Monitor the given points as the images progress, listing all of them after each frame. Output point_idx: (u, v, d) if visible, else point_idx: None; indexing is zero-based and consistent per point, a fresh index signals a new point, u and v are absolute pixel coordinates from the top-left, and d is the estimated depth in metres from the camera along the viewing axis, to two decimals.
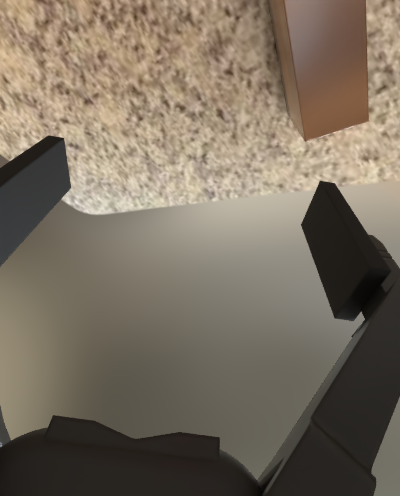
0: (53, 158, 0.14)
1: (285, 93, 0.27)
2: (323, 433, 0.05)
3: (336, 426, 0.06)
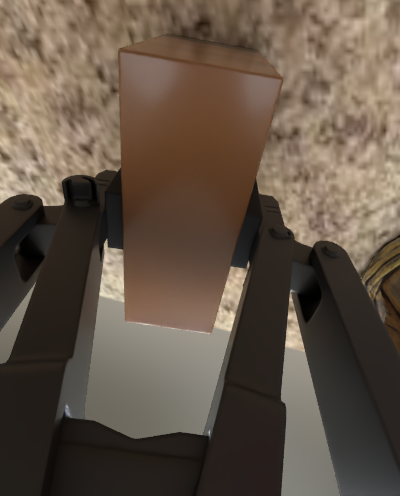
0: None
1: None
2: (237, 388, 0.06)
3: (246, 375, 0.06)
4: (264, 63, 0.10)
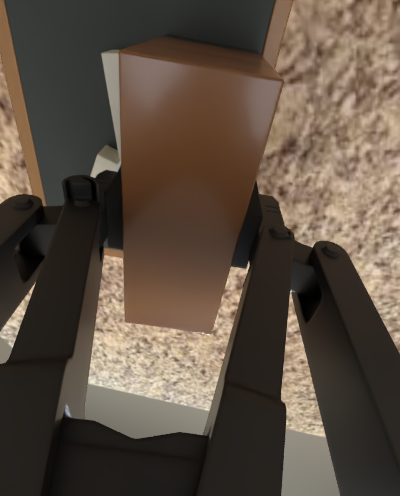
0: None
1: None
2: (237, 388, 0.06)
3: (246, 375, 0.06)
4: (264, 64, 0.10)
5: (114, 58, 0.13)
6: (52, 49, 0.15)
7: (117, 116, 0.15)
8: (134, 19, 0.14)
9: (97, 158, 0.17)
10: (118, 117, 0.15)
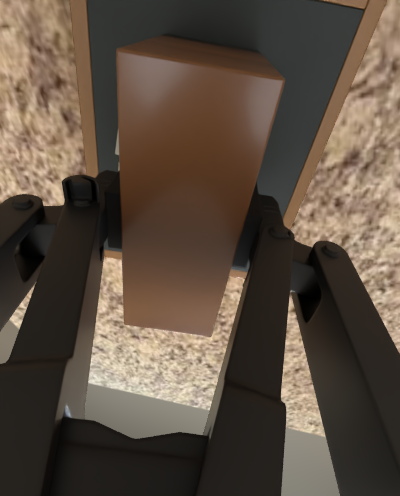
0: None
1: None
2: (237, 388, 0.06)
3: (246, 375, 0.06)
4: (265, 63, 0.10)
5: None
6: None
7: None
8: (216, 36, 0.14)
9: None
10: None
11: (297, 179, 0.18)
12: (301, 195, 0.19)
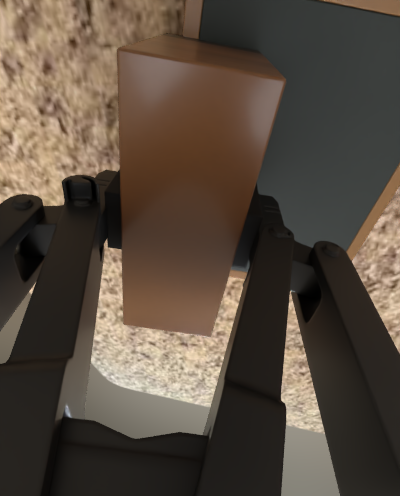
0: None
1: None
2: (237, 388, 0.06)
3: (246, 375, 0.06)
4: (266, 64, 0.10)
5: None
6: None
7: None
8: (324, 57, 0.14)
9: None
10: None
11: (380, 194, 0.18)
12: (381, 209, 0.19)
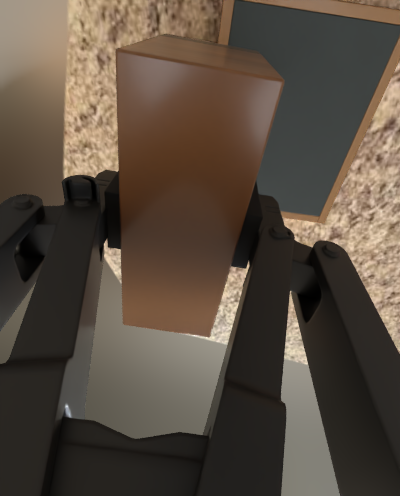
0: None
1: None
2: (237, 388, 0.06)
3: (246, 374, 0.06)
4: (265, 64, 0.10)
5: None
6: None
7: None
8: (309, 44, 0.22)
9: None
10: None
11: (353, 139, 0.26)
12: (354, 151, 0.27)
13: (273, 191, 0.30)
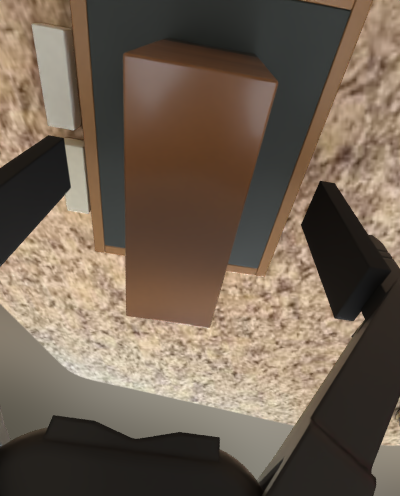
0: (53, 158, 0.14)
1: None
2: (323, 433, 0.05)
3: (336, 426, 0.06)
4: (261, 67, 0.11)
5: None
6: None
7: None
8: (210, 36, 0.15)
9: None
10: None
11: (291, 174, 0.19)
12: (295, 190, 0.19)
13: None
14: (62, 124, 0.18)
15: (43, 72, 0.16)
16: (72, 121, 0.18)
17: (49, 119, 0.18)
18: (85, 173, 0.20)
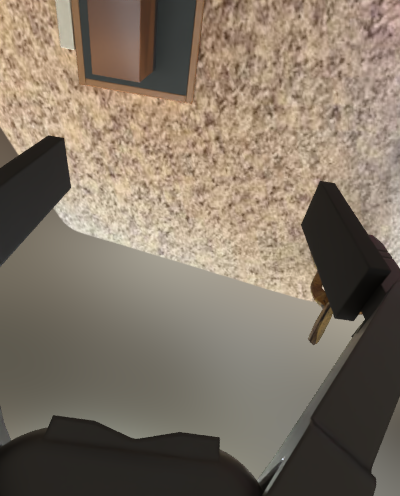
0: (53, 158, 0.14)
1: None
2: (323, 434, 0.05)
3: (336, 426, 0.06)
4: None
5: None
6: None
7: None
8: None
9: None
10: None
11: (194, 10, 0.31)
12: (199, 23, 0.32)
13: None
14: None
15: None
16: None
17: None
18: (71, 15, 0.32)
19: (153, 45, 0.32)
